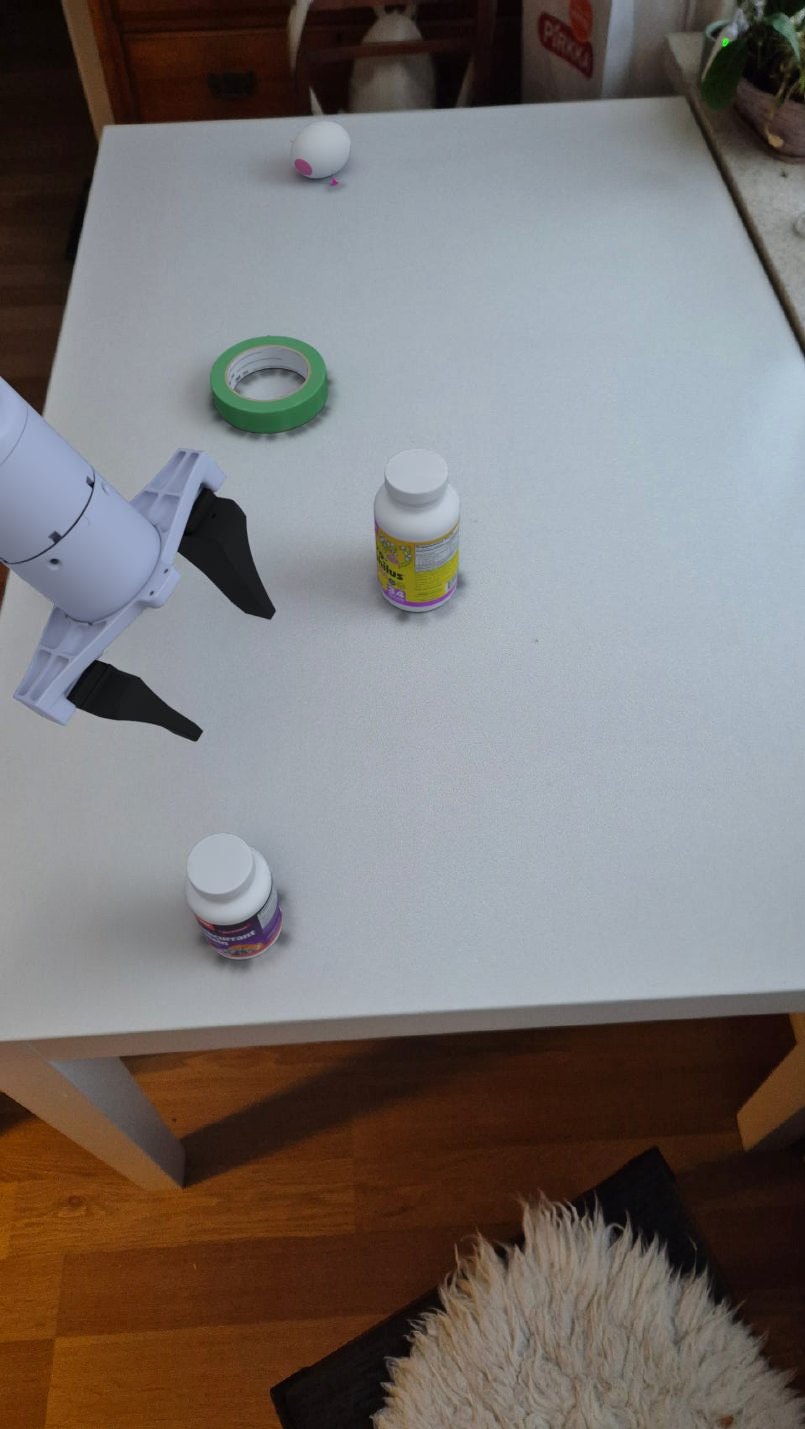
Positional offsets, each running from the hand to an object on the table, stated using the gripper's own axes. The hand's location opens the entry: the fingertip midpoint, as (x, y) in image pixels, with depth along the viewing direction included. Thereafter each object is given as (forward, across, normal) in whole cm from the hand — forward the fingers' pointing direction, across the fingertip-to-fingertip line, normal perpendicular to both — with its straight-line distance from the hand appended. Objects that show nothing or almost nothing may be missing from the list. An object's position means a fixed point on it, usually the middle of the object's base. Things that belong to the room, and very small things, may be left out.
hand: (225, 670), depth 54 cm
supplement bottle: (+24, +20, +12) cm, 33 cm away
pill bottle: (+18, -11, +6) cm, 22 cm away
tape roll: (+18, +34, +36) cm, 53 cm away
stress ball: (+20, +69, +54) cm, 90 cm away
